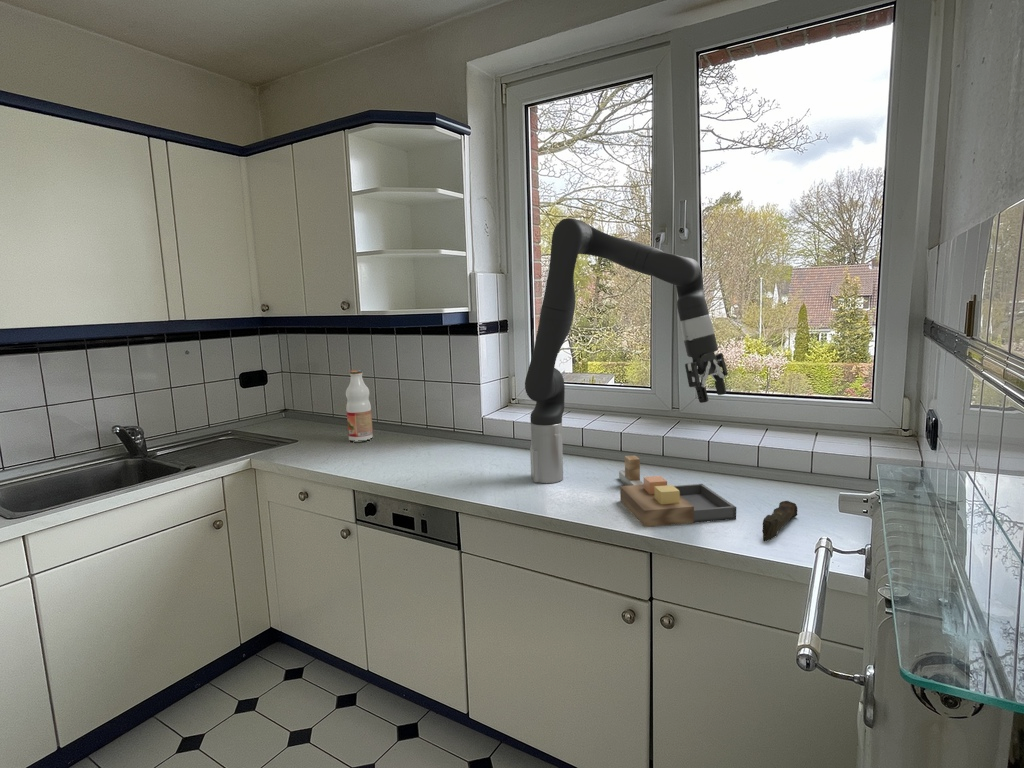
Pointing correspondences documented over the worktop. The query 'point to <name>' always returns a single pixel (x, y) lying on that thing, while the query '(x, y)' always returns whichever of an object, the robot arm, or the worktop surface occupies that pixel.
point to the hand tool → (778, 519)
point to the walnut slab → (655, 508)
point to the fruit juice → (358, 408)
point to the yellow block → (666, 494)
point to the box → (707, 503)
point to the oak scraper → (631, 471)
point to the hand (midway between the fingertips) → (713, 398)
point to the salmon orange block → (653, 483)
